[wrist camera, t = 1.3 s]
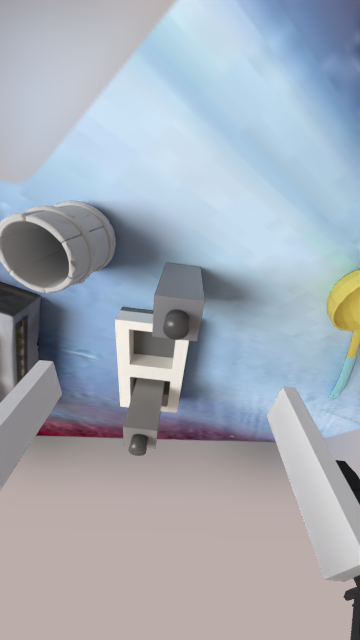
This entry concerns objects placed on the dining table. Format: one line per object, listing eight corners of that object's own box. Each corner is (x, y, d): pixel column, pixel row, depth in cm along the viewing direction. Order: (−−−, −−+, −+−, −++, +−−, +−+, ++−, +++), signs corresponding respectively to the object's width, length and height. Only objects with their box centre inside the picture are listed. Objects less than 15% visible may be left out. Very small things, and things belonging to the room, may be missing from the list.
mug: (122, 268, 27) (80, 314, 17) (33, 264, 27) (-61, 307, 17) (114, 201, 23) (54, 207, 13) (10, 197, 23) (-131, 200, 13)
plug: (200, 266, 26) (206, 310, 17) (195, 297, 29) (197, 352, 19) (166, 262, 26) (151, 303, 16) (163, 294, 29) (149, 346, 19)
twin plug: (165, 373, 35) (155, 443, 25) (163, 390, 37) (153, 461, 27) (139, 370, 35) (119, 439, 25) (139, 388, 37) (120, 458, 27)
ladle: (402, 241, 23) (454, 267, 19) (340, 368, 41) (360, 396, 37) (319, 261, 24) (351, 290, 20) (293, 376, 42) (308, 404, 38)
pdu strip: (191, 315, 30) (191, 331, 26) (177, 396, 39) (176, 416, 36) (122, 306, 30) (112, 322, 26) (125, 390, 39) (118, 410, 36)
